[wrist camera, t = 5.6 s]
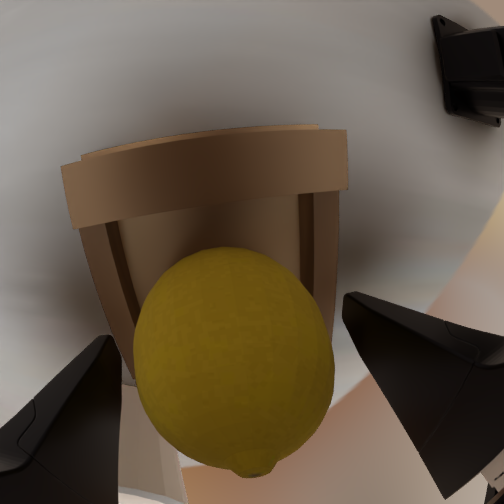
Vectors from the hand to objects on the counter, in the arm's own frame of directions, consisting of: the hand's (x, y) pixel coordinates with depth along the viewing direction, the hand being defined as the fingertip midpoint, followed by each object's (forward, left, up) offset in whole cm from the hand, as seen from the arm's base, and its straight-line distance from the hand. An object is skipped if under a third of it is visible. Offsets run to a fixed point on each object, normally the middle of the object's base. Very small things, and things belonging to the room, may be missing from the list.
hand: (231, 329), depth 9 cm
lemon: (0, 0, -4) cm, 4 cm away
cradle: (0, 0, -4) cm, 4 cm away
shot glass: (+7, +9, -5) cm, 13 cm away
